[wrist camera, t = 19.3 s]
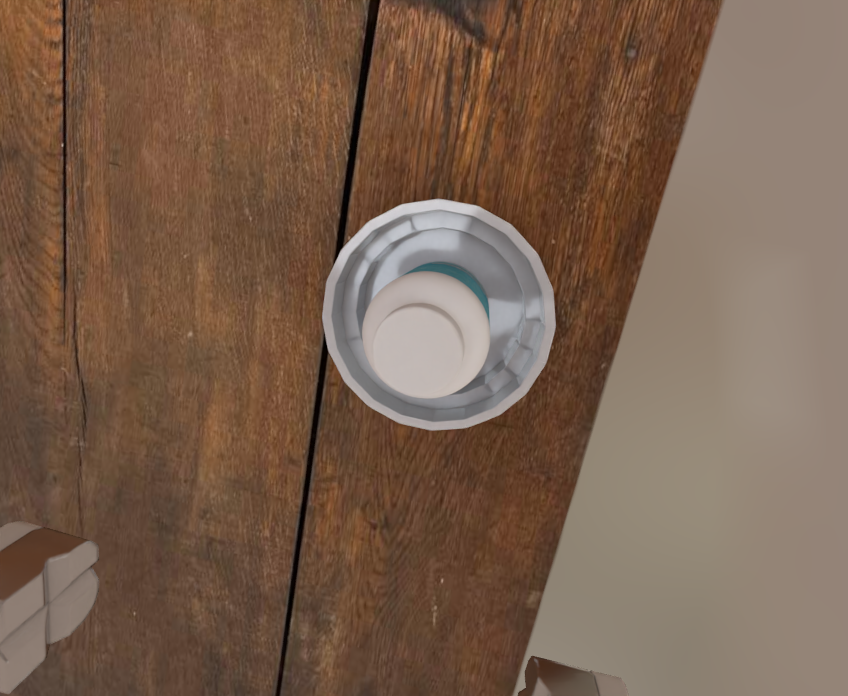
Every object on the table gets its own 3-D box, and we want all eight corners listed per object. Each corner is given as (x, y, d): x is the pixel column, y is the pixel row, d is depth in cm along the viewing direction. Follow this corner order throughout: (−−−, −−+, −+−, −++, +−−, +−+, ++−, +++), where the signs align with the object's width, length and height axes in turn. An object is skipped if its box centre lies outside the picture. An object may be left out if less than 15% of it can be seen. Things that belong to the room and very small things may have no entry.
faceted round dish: (567, 226, 34) (583, 224, 29) (518, 421, 38) (523, 451, 33) (360, 188, 35) (338, 179, 30) (334, 381, 39) (310, 403, 34)
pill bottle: (391, 262, 36) (337, 278, 23) (488, 258, 35) (490, 272, 22) (397, 356, 38) (351, 420, 24) (489, 354, 36) (492, 421, 24)
